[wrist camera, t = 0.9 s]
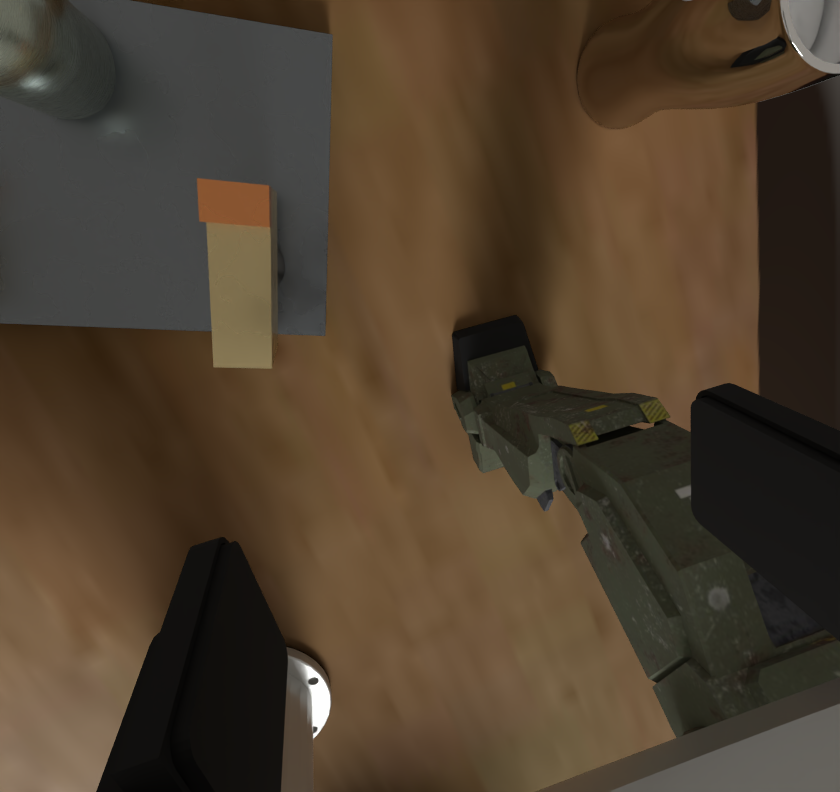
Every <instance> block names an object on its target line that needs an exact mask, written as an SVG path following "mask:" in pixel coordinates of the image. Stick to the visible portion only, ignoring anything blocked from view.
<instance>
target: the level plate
mask: <svg viewBox="0 0 840 792" xmlns="http://www.w3.org/2000/svg"><path fill="white" fill-rule="evenodd" d="M331 76H332V34H326V33H320V32H314V31H308V30H302V29H296V28H290V27H284V26H279V25H273V24H267V23H261V22H255V21H249V20H243V19H237V18H231V17H225V16H219V15H214V14H208V13H202V12H196V11H190V10H184V9H178V8H172V7H166V6H160V5H154V4H149V3H143V2H137V1H131V0H0V323H5V324H31V325H57V326H83V327H109V328H135V329H161V330H187V331H212V327H211V307H210V287H209V267H208V246H207V226H206V222H199V208H198V190H197V178H200V179H210V180H220V181H230V182H240V183H250V184H260V185H269V186H271V188H272V189H274V190H275V191H276V192H277V265H278V334H291V335H317V336H325V324H326V283H327V241H328V200H329V159H330V117H331Z"/></svg>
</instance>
